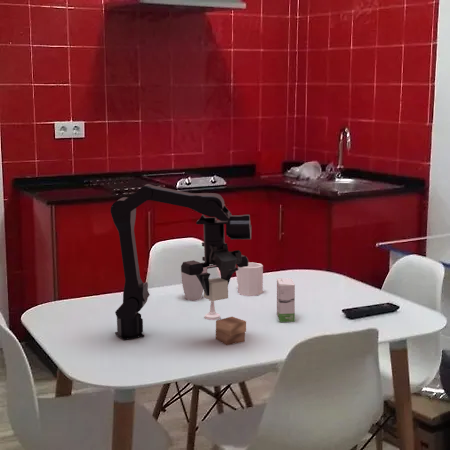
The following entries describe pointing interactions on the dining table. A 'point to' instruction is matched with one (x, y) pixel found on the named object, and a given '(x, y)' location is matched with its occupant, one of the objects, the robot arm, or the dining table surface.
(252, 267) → the mug
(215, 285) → the cube
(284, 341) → the dining table surface
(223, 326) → the tower top
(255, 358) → the dining table surface
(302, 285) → the dining table surface
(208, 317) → the chess piece
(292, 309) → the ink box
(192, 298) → the cup
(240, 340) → the tower base
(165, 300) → the dining table surface
